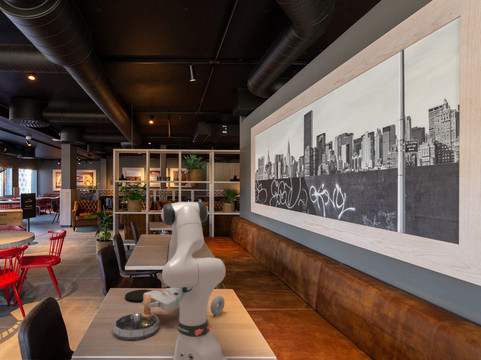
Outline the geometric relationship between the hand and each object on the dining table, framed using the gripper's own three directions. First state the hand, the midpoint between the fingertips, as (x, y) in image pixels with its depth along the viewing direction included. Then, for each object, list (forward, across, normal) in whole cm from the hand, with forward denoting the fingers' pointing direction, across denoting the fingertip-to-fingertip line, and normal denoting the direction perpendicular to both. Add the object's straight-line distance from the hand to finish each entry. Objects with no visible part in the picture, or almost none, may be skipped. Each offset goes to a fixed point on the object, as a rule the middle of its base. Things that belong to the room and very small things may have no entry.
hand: (145, 304), depth 151 cm
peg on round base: (-1, 0, +6) cm, 6 cm away
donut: (-34, +15, +11) cm, 39 cm away
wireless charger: (-20, -35, +11) cm, 42 cm away
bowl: (+5, 0, +10) cm, 12 cm away
